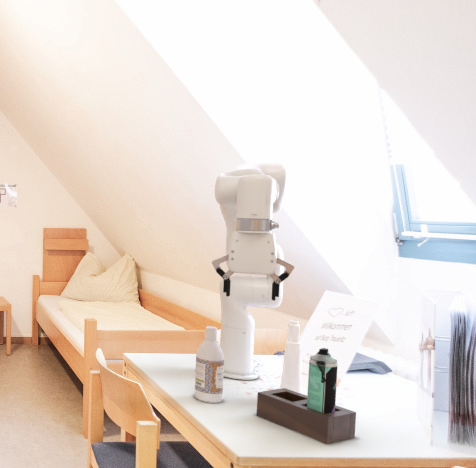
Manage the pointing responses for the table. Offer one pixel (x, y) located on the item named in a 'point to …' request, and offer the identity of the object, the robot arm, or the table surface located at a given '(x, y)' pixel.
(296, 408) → the rack
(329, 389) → the spray can
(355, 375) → the table surface
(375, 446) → the table surface
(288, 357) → the cosmetic bottle
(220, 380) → the bath foam
